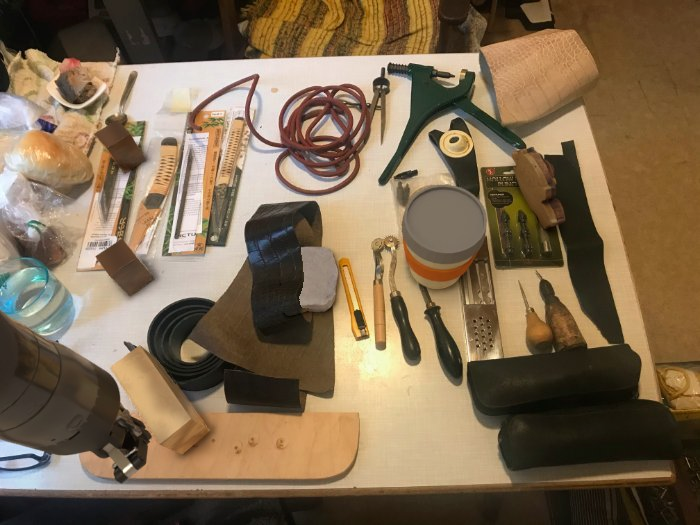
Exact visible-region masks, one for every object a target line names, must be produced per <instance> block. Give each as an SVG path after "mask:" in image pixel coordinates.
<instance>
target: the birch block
mask: <svg viewBox="0 0 700 525" xmlns="http://www.w3.org/2000/svg"><path fill="white" fill-rule="evenodd" d="M157 359H158V358H157V357H156V356H154V355H153V354H151V352H149V351H148V350H146V348H144V347H143V346H142V345H140V344H139V345H138V346H136V347H135V348H134V349H132V350H131V351H129V353H127V354H126V355H124V356H123V357H121V358H120V359H119V360H118V361H116V362H115V363H114V364H112V365H111V366H110V367H109V369H110V371H111V372H112V374H113V375H114V377H115V379H116V381H117V382H118V384H119V385H120V386H121V388H122V389H123V391H124V393H125V394H126V395H127V397H128V398H129V400H130V402H131V403H132V405H133V406H134V408H135V409H136V411H137V413H138V414H139V415H140V417H141V418H142V420H143V421H144V424H145V425H146V426H147V428H148V429H149V432H150V433H151V435H152V436H153V437H154V438H155V440H156V442H157V443H158V444H159V446H162V447H164V448H166V449H168V450H171V451H174V452H175V453H178V454H180V455H184V454H185V453H186V452H187V451H188V450H189V449H191V448H192V447H194V445H196V444H197V443H198V442H200V441H201V440H202V439H203V438H204V437H205V436H206V435H207V434H209V433H210V432H211V430H210V428H209V427H208V426H207V424H206V423H205V421H204V420H203V418H202V417H201V416H200V414H199V413H198V411H197V410H196V409H195V407H194V405H193V404H192V402H190V400H189V398H188V397H187V396H186V394H185V393H184V392H183V390H182V389H181V387H180V386H179V385H178V383H177V382H176V384H175V383H174V382H173V380H172V379H171V378H170V376H169V375H168V374H167V372H166V371H165V369H164V368H163V366H162V365H161V364H160V362H161V361H160V360H159V359H158V360H159V361H160V362H159V361H158V360H157Z"/></svg>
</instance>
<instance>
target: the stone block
mask: <svg viewBox="0 0 700 525" xmlns="http://www.w3.org/2000/svg"><path fill="white" fill-rule="evenodd" d="M301 255H302V261H303V272H304V282H303V288H302V291H301V294H300V296H299V299H300V300H299V301H300V305H301V307H302V308H306V309H307V308H309V309H312V310H309V312H314V313H321V312H323V313H324V312H327V311H328V310H329V309H331V307H332V306H333V304H334V302H335V299H336V294H337V293H336V292H337V285H338V278H339V268H338V265H337V263H336V260H335V256H334V253H333V251H332V250H331V249H330V248H328V247H325V246H302V247H301ZM309 312H308V313H309Z"/></svg>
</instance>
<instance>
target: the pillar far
mask: <svg viewBox="0 0 700 525" xmlns="http://www.w3.org/2000/svg"><path fill="white" fill-rule="evenodd" d="M94 136H95V137H96V138H97V140H98V141H99V142H100V144H101V145H102V147H103V148H104V149H105V151H106V153H107V154H108V155H109V157H110V158H111V160H112V161H113V162H114V163H115V165H116V166H117V167H118V168H119V170H120V171H122V173H123V174H124V175H126V174H128V173H130V172H131V171H133V170H134V169H136V168H138V167H139V166H140V165H142V164H144V163H145V162H147V159H146V157H145V155H144V154H143V152H142V150H141V149H140V147H139V146H138V143H137V142H136V141H135V139H134V137H133V136H132V134H131V132H129V131H128V129H126V127H125V126H124V125H123V124H122V122H120V121H119V119H116V120H115V121H113V122H112V123H109V124H108V125H106V126H104V127H103V128H101V129H100V130H98V131H96V132H94Z"/></svg>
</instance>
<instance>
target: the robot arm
mask: <svg viewBox="0 0 700 525" xmlns="http://www.w3.org/2000/svg"><path fill="white" fill-rule="evenodd" d="M146 426H147V425H146V424H145V422H143V421H142V420H140V419H138V418H135V417H134V416H132V415H131V412H130V411H129V410H128V409H126V407H124V405H123V404H122V402H121V391H120V388H119V385H118V383H117V380H116V378H114V376H113V375H112V374H111V373H109V372H108V371H107V370H106V369H104V368H102V367H101V366H99V365H97V364H96V363H95V362H92V361H91V360H89V359H88V358H86V357H84V356H83V355H82V354H80V353H78V352H76V351H75V350H74V349H71V348H70V347H68V346H67V345H64V344H62V343H60V342H57V341H55V340H52V339H50V338H47V337H45V336H43V335H42V334H40V333H38V332H37V331H35V330H34V329H32V328H30V327H29V326H27V325H26V324H24V323H23V322H20V321H18V320H16V319H14V318H12V317H10V316H9V315H7V314H6V313H5V311H3V310H2V309H1V308H0V440H1V441H3V442H7V443H10V444H15V445H18V446H22V447H25V448H29V449H33V450H38V451H39V452H44V453H47V454H51V455H54V456H55V455H56V456H72V455H78V454H83V453H87V452H91V453H92V454H93V455H95V456H96V457H97V458H99V459H108V458H110V459H111V460H112V462H114V463H112V464H111V468H112V470H113V477H114V480H115V481H116V482H118V483H119V484H121V485H122V484H123V483H125V482H126V481H127V480H128V479H130V478H131V477H132V476H134V475H135V474H136V473H137V472H139V471H140V469H142V468H143V467H144V466H146V465H147V460H148V452H149V450H148V449H149V444H150V443H151V441H150V440H152V438H153V435H152V433H151V432H150V430H147V429H146V428H147V427H146Z"/></svg>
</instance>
